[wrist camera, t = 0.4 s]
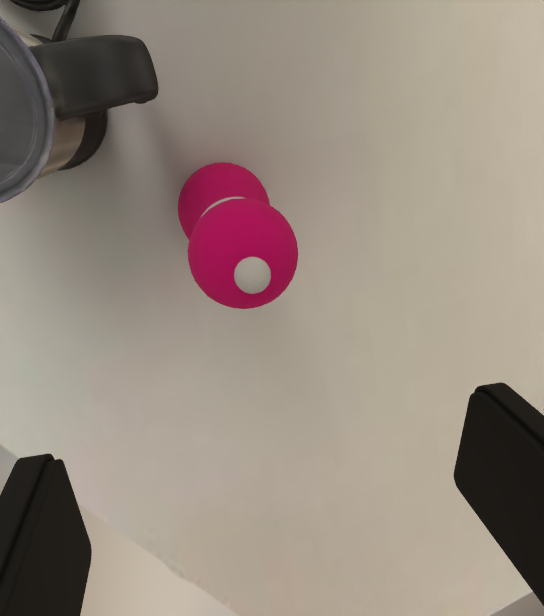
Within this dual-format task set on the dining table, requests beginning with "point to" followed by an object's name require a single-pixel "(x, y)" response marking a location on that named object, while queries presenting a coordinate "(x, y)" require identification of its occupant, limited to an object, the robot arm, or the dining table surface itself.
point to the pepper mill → (236, 237)
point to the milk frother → (62, 95)
